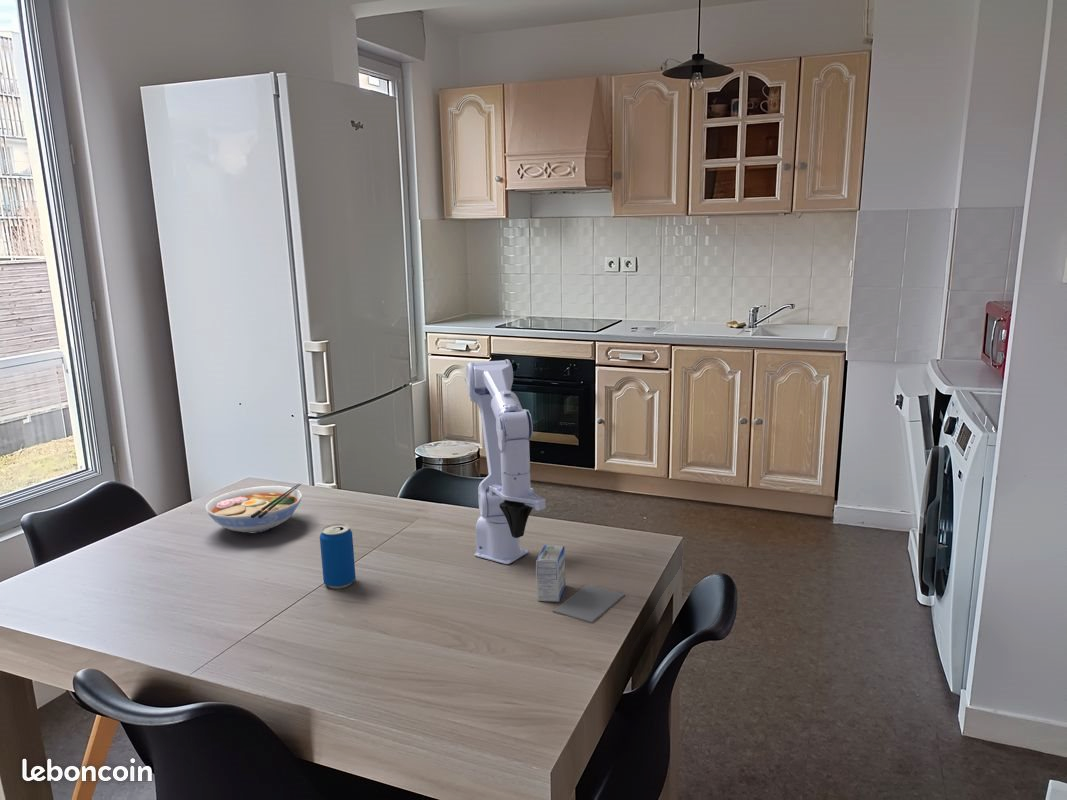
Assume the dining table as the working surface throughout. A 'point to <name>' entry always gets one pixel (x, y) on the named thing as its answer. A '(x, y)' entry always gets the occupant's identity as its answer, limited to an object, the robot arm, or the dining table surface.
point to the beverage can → (337, 556)
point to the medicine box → (550, 573)
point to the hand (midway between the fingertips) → (517, 536)
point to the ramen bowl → (254, 507)
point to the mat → (589, 603)
